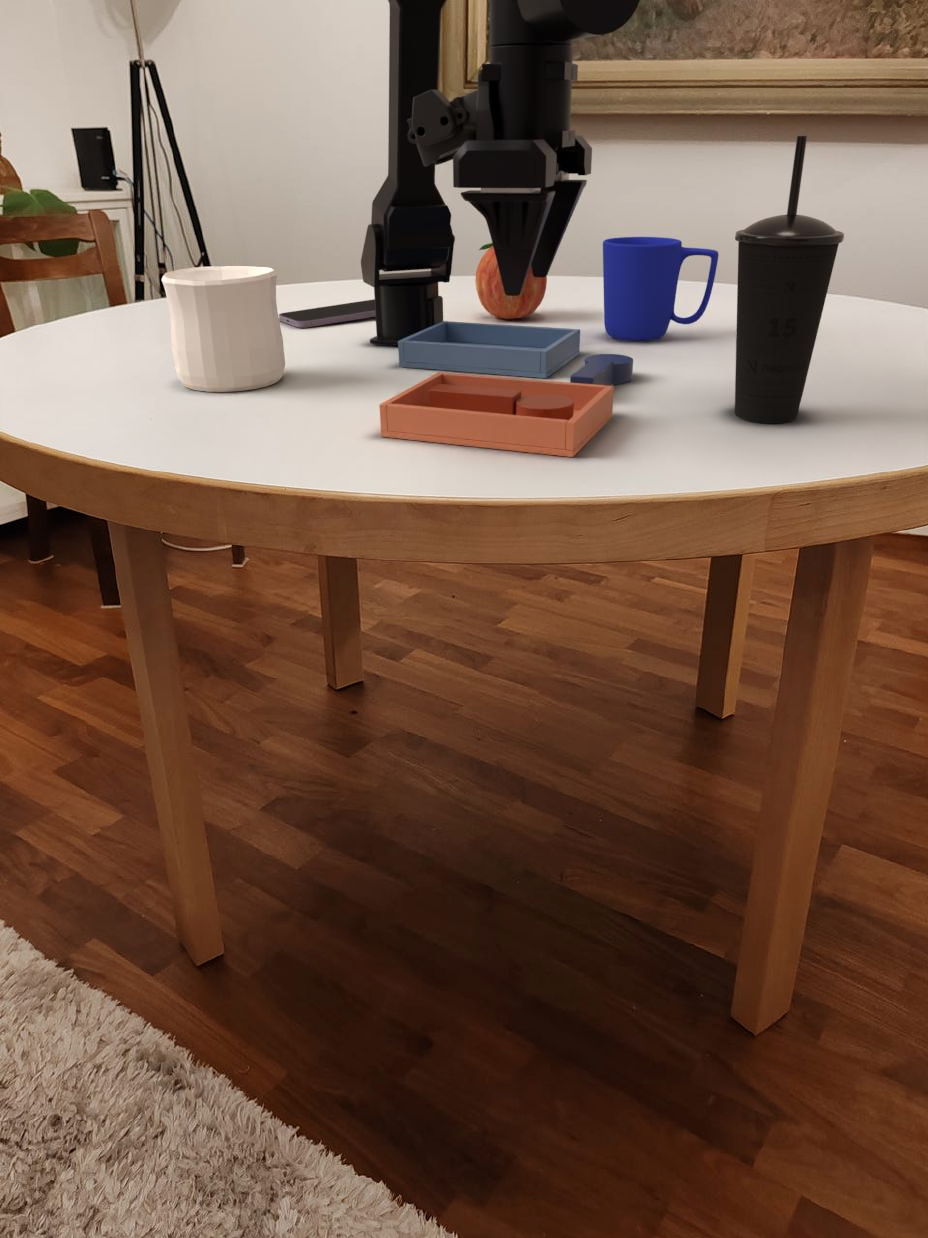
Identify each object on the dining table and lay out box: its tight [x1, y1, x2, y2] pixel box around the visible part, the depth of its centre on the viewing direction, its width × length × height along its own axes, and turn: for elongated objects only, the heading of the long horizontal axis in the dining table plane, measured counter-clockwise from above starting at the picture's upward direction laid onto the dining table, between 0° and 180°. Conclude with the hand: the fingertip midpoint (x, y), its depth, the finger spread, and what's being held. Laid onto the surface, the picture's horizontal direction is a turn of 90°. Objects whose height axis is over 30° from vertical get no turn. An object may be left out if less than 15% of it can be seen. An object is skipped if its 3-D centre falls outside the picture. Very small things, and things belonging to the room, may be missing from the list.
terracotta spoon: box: [429, 384, 574, 421], centre depth 74 cm, size 11×4×2 cm, turn 68°
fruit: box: [474, 242, 548, 320], centre depth 114 cm, size 9×10×10 cm
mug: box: [602, 236, 719, 343], centre depth 102 cm, size 8×12×10 cm
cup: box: [160, 265, 286, 393], centre depth 87 cm, size 10×10×10 cm
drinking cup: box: [734, 135, 845, 424], centre depth 72 cm, size 8×8×20 cm
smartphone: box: [278, 298, 376, 329], centre depth 118 cm, size 7×1×15 cm
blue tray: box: [397, 320, 581, 379], centre depth 95 cm, size 15×11×2 cm
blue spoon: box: [569, 353, 634, 386], centre depth 85 cm, size 11×4×2 cm, turn 158°
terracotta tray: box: [379, 371, 615, 458], centre depth 74 cm, size 15×11×2 cm
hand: (526, 285), depth 72 cm, fingers open, 9 cm apart
